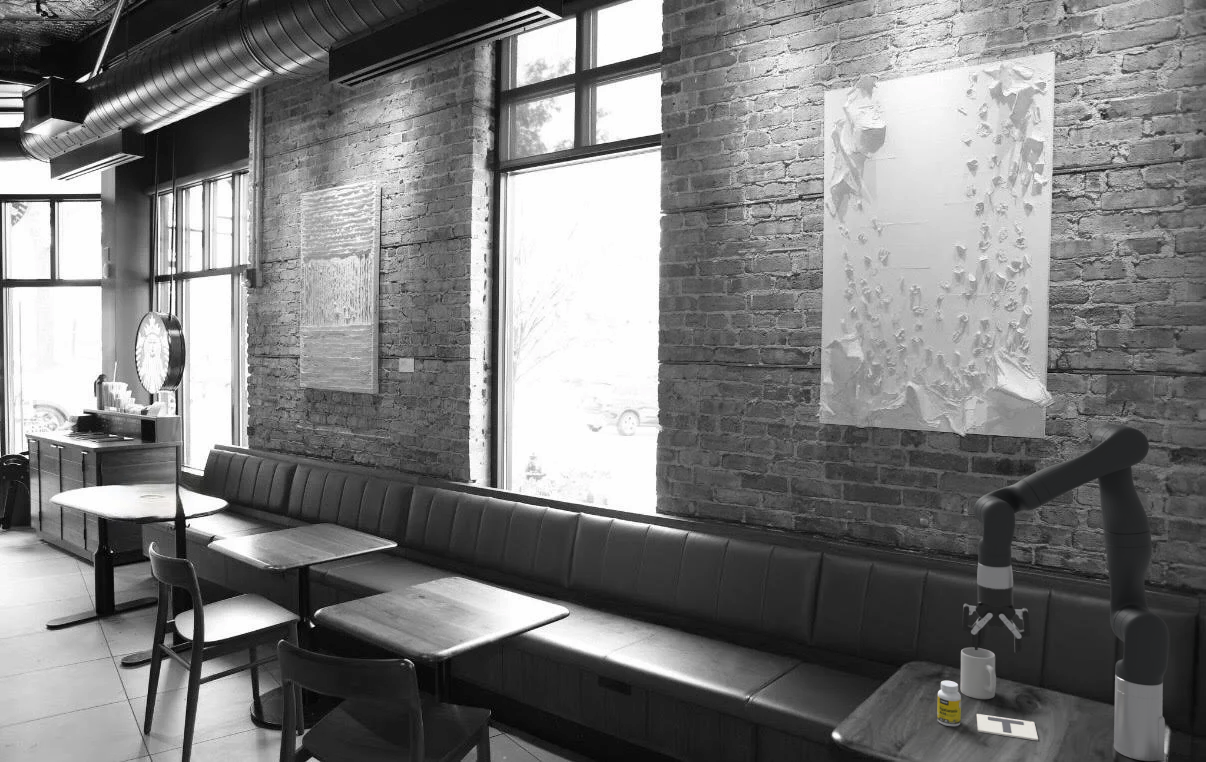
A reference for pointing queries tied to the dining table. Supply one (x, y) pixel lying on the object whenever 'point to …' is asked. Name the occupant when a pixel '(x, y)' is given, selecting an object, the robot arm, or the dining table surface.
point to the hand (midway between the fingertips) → (995, 650)
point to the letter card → (1006, 727)
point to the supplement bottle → (949, 704)
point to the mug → (978, 673)
